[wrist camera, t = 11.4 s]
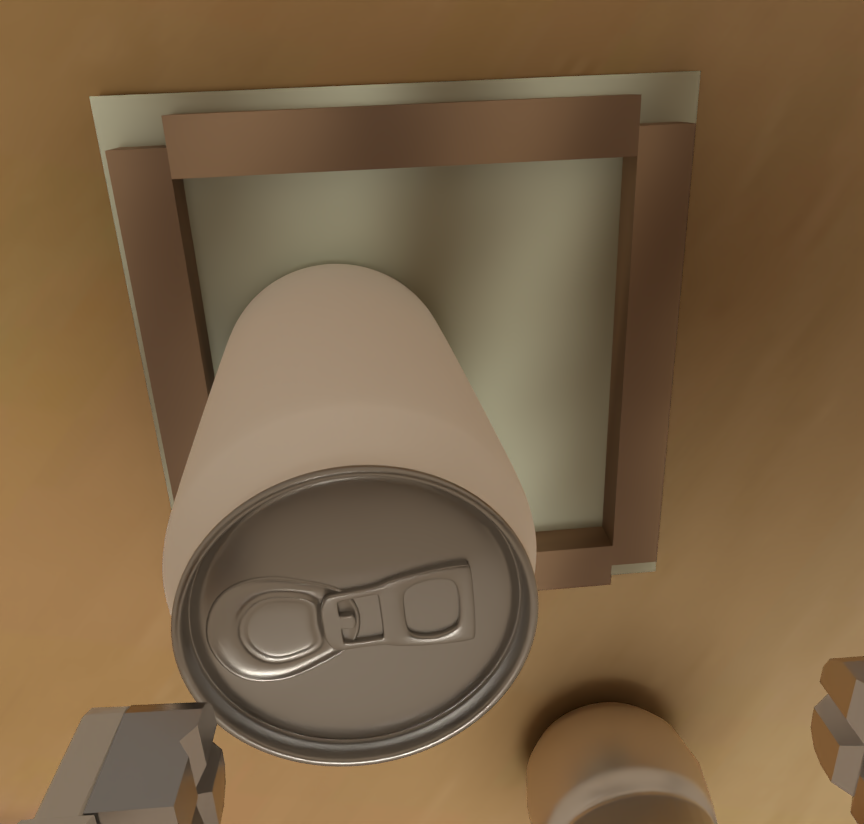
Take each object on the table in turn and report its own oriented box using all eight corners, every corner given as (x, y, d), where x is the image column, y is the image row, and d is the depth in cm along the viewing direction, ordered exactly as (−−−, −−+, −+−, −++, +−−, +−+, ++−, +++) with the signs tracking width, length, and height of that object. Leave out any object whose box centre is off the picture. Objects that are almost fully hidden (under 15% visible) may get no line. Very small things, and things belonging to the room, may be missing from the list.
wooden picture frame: (689, 71, 21) (720, 69, 19) (647, 558, 27) (668, 591, 26) (99, 96, 20) (72, 96, 18) (196, 595, 26) (183, 633, 25)
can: (204, 273, 21) (87, 475, 10) (436, 246, 22) (563, 410, 11) (247, 479, 24) (190, 818, 13) (453, 450, 24) (568, 749, 13)
